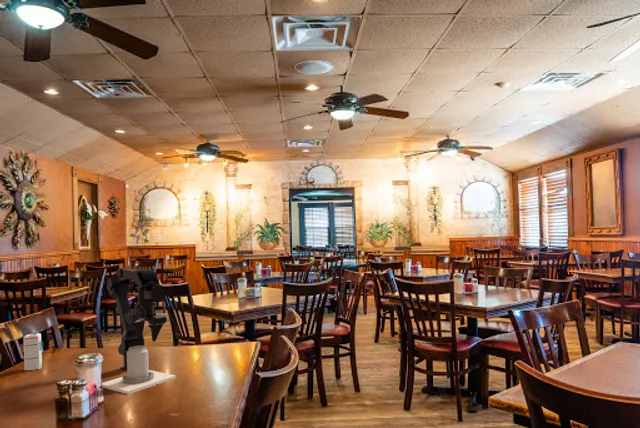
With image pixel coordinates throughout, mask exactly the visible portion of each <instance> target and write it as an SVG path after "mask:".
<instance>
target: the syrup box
mask: <svg viewBox="0 0 640 428" xmlns="http://www.w3.org/2000/svg"><path fill="white" fill-rule="evenodd" d="M42 351H43V349H42V334H41V333H38V332H37V333H30V334H26V335H25V336H23V361H24V363H23V365H24V371H25V370H32V371H35V370H34V369H39V370H41V368H42V367H43V357H42V356H43V352H42Z"/></svg>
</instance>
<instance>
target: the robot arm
mask: <svg viewBox="0 0 640 428" xmlns="http://www.w3.org/2000/svg"><path fill="white" fill-rule="evenodd" d="M132 281H133V282H134V283H135V284H136V287H135V290H137V303H135V307H134V308H133V309H131V305H130V302H129V298H128V295H129V291H130V286H131V284H132ZM106 289H107V291H108V292H109V293H108V294H109V295H110V297H111V298H113V299H114V300H115V302H116V303H115V304H116V307H117V312H118V314H119V315H118V316H119V319H120V323H121V327H122V335H121V338H120V341H121V342H120V344H119V346H118V347H117V352H118V355H121V356H123V358H122V359H123V365H122V366H120V367H119V368H120V369H122V370H126V371H127V352H128V351H129V348H130V347H134V346H145V338H144V335H143V333H144V329H145V324H146V323H145V322H147V325H148V326H147V327H149V328H150V332H151V340H152V342H154V343H155V342H156V341H157V339H158V336H159V335H160V332H161V330H162V328H163V327H164V325H165V323H167V322H168V318H167V317H168V316H166V315H163V314H157V312H154V307H155V306H157V305H156V303H162V302H163V300H164V299H165V298H166V297H165V296H166V293H165V291H164V289H163V288H162V287H161V284H160V279H159V278H158V276H157V273H156V271H155V270H154V269H153V268H145V269H137V268H136V269H135V268H131V267H121V268H118V269H116V272H115V273H114V274H113V275H111V276H110V277H109V279H108V281H107V283H106Z"/></svg>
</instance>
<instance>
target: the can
mask: <svg viewBox="0 0 640 428" xmlns="http://www.w3.org/2000/svg"><path fill="white" fill-rule="evenodd" d="M149 363H150V362H149V349H147V346H146V345H144V346H134V347H130V348H129V351H128V352H127V370H126V371H127V372H126V375H127V379H140V378H145V377H148V376H149V370H150V369H149V366H150V365H149Z"/></svg>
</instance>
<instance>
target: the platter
mask: <svg viewBox="0 0 640 428" xmlns="http://www.w3.org/2000/svg"><path fill="white" fill-rule="evenodd" d="M174 379H177V375H175V374H170V373H166V372H160V371H156V370H150V369H149V376H148V377H145V378H140V379H127V374H125V375H123V376H121V377H117V378H114V379H111V380H107V381H104V382H101V383H102V385H103V387H102V388H103V389H107V390H110V391H111V390H112V391H115V392H119V393H122V394H126V395H130V394H133V393H136V392H139V391H142V390H145V389H148V388H151V387H155V386H157V384H158V385H161V384H164V383H165V382H169V381H173V380H174Z"/></svg>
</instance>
